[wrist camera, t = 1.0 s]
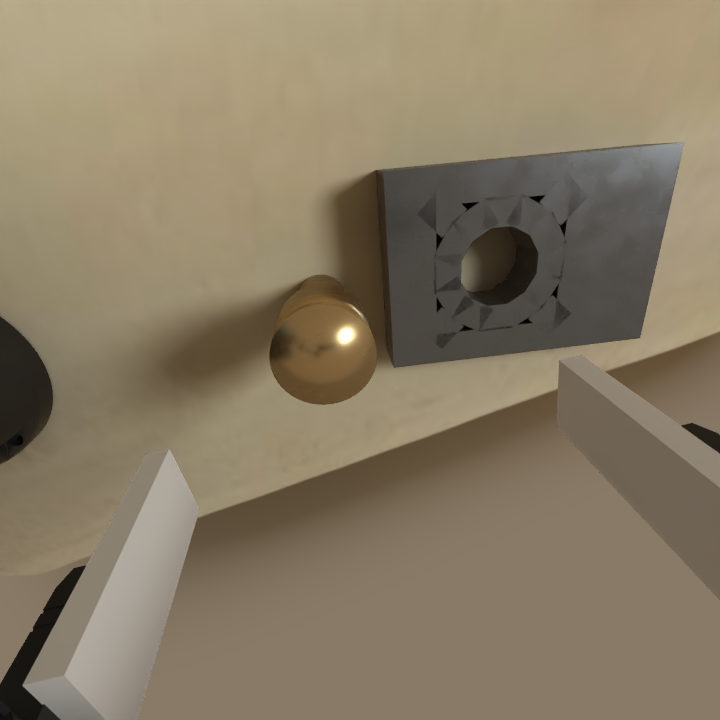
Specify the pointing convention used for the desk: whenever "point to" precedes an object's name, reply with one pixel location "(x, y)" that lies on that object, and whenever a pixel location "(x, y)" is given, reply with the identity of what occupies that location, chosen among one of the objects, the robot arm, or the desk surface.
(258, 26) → the desk surface
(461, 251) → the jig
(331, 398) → the knob
